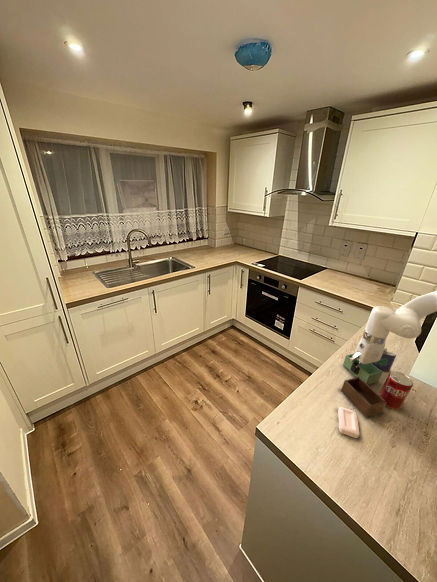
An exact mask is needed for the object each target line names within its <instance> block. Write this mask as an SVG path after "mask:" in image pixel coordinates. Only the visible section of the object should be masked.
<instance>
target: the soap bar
mask: <svg viewBox="0 0 437 582" xmlns="http://www.w3.org/2000/svg"><path fill="white" fill-rule="evenodd" d="M337 414H338V429H339V430H338V431H339V432H340V434H344V435H346V436H349V437H351V438H355V439H358V438H359V436H360V429H359V421H358V415H357V412H356V411H355V410H352V409H349V408H346V407H343V406H339V407H338V410H337Z"/></svg>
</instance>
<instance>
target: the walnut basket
mask: <svg viewBox="0 0 437 582" xmlns="http://www.w3.org/2000/svg"><path fill="white" fill-rule="evenodd" d="M369 385H370V384H369ZM369 385H367V384H366V383H365V382H364V381H363V380H362V379H361V378H360V377H352V378H349V379H345V380H344V381H343V383H342V386H341V390H340V391H341V393H342V394H343V395H344V396H345V397H346V398H347V399H348V400H349V401H350V403H352V404H353V405H354V406H355V407H356V408H357V409H358V411H359V412H360V413H361V414H362V415H363V416H364V417H365V418H366V419H367V418H370V417H373V416H377V415H380V414H382V413H383V411H384V409H385V407H386V406H385V405H386V403H387V402H386V401H385V400H384V399H383V398H382V397H381V396H379V393H377V392H376V391H375V390H374V389H373V388H372V387H371V386H369Z"/></svg>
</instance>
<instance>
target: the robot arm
mask: <svg viewBox="0 0 437 582" xmlns="http://www.w3.org/2000/svg"><path fill="white" fill-rule="evenodd" d="M436 312H437V290H434V291H431V292H428V293H425V294H422V295H419V296H417V297H414V298H413V299H411V300H409V301H408V302H406V303H405V304H403V305H401V306H400V307H398V308H397V309H396V310H395V311H394V310H393V309H392V308H389V307H388V306H382V305H376V306H374V307H373V308H372V309H371V312H370V314H369V317H368V320H367V322H366V326H365V328H364V331H363V333H362V337H361V338H360V339H359V342H358V344H357V346H356V348H355V350H354V353H353V354H354V356H352V357H351V358H350V361H351V362H352V366H351V369H350V370H351V371H352V372H353V373H354V374H355V375H357V374H358V371H359V369H360V367H359V366H360V365H361V364H368V363H372V364H373V365H375V363H376V361H379V360H380V359H381V357H382V354H383V351H384V348H386V343H387V342H386V340H387V338H388V336H389V333H392V334H395V335H397V336H398V337H402V338H403V339H415V338H417V337H420V335H421V333H422V325H421V320H422V319H423V318H425V317H427V316H429V315H431V314H434V313H436ZM357 360H358V361H359V363H358V364H357V363H356V361H357Z"/></svg>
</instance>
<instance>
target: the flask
mask: <svg viewBox="0 0 437 582" xmlns="http://www.w3.org/2000/svg"><path fill="white" fill-rule="evenodd" d="M396 358H397V354H396V353H395V352H393V351H392V352H391V351H388V348H387V347H385V348H384V351H383V354H382V357H381V359H380V360H379V361H376V363H375V366H376V367H377V368H378V369H380V370H381V371H382V372H385V373H386V372H387V373H390V372H391V369H392V366H393V365H394V362H395V360H396Z"/></svg>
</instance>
